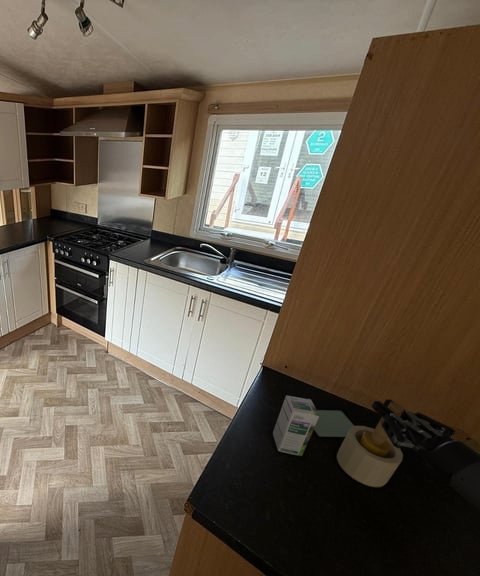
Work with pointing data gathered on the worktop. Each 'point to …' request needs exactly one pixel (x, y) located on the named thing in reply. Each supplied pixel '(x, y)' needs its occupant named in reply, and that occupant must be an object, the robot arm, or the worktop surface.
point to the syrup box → (295, 425)
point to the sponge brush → (380, 435)
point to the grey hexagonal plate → (332, 424)
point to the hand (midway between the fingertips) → (380, 402)
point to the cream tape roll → (367, 459)
